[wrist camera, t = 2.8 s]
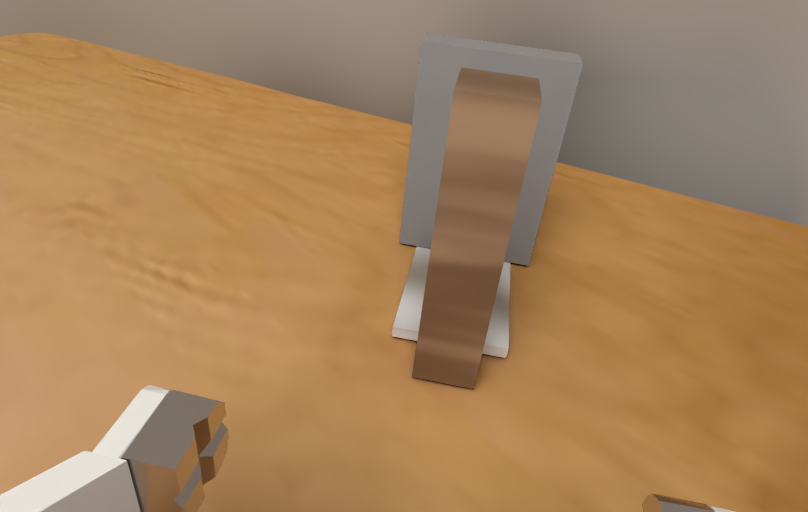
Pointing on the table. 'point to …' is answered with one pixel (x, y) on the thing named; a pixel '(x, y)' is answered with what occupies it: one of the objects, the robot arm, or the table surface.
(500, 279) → the brown and white bookend
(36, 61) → the table surface
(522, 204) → the tile
